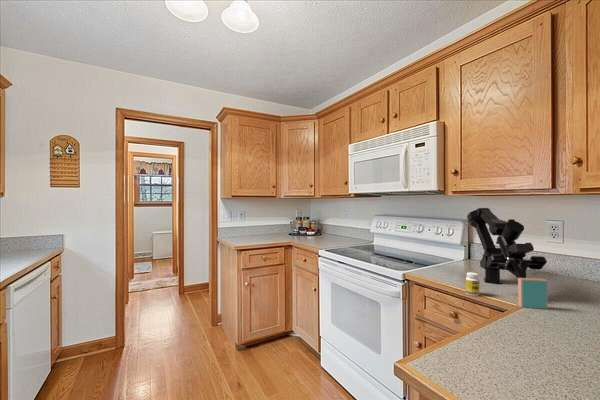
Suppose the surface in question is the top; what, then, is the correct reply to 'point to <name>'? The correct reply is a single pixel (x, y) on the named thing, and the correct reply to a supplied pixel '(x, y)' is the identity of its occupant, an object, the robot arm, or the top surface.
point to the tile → (532, 293)
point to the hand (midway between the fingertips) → (524, 281)
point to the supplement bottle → (472, 284)
